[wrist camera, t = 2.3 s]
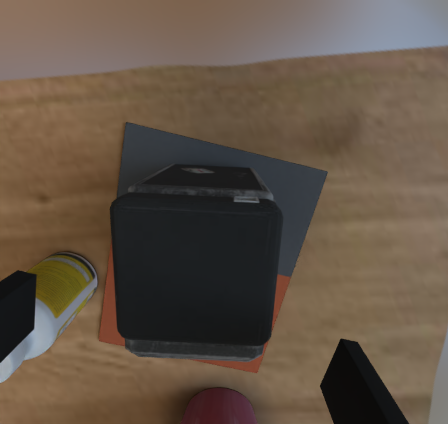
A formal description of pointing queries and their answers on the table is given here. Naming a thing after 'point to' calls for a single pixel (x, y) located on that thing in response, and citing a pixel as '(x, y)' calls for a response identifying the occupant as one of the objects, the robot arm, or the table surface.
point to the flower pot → (219, 408)
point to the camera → (196, 263)
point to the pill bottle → (53, 304)
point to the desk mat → (226, 157)
